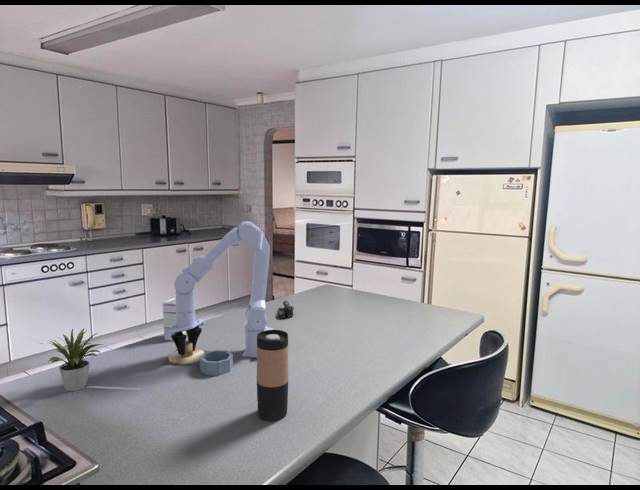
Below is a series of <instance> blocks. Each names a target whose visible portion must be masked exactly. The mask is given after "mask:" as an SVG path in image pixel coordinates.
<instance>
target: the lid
mask: <svg viewBox="0 0 640 490" xmlns="http://www.w3.org/2000/svg"><path fill="white" fill-rule="evenodd" d="M204 351H205V350H201V349H200V348H195V351H193V345H192V342H191V341H188V340H185V354H184V355H180V354H178V351H175V352H174V351H173V352H171V353H170V354H168V357H169V362H171V363H173V364H177V365H187V364H193V363H196V362H199V361H200V357H201V356H202V355H203V354H204Z"/></svg>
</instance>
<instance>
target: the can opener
mask: <svg viewBox="0 0 640 490" xmlns="http://www.w3.org/2000/svg"><path fill="white" fill-rule="evenodd" d="M282 305H283V310H280V311H279V312H278V314H277V315H278V317H279V318H281V319H283V318H286V317H287V318H291V317H293V316H294V309H295V306H294V305H293V306H292V305H291V304H290V303H289V301H288V300H284V301H283V302H282Z"/></svg>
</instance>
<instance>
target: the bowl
mask: <svg viewBox="0 0 640 490" xmlns="http://www.w3.org/2000/svg"><path fill="white" fill-rule="evenodd" d="M209 351H210V352H207V353H204V354H203V355H202V356H201V357H200V365H199V371H200V372H201V373H202V374H203V375H205V376H214V377H215V376H217V377H218V376H222V375H225V374H228V373H230V372H231V371H232V370H233V367H234V354H233V353H231V352H230V351H228V350H223V349H222V350H219V349H218V350H217V349H214V350H209Z"/></svg>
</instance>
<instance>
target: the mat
mask: <svg viewBox="0 0 640 490" xmlns="http://www.w3.org/2000/svg"><path fill="white" fill-rule="evenodd" d="M175 351H178V350H177V349H176V350H175ZM175 351H173V352H175ZM203 351H204V353H207V352H210V351H211V350H203ZM159 365H160V366H178V367H179V366H180V367H197V368H198V367H199V368H200V361H199V362H196V363H193V364H187V365H177V364H173V363H171V362H169V356H168V357H166V358H165V360H163V361H162V362H161V363H160V364H159Z"/></svg>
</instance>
